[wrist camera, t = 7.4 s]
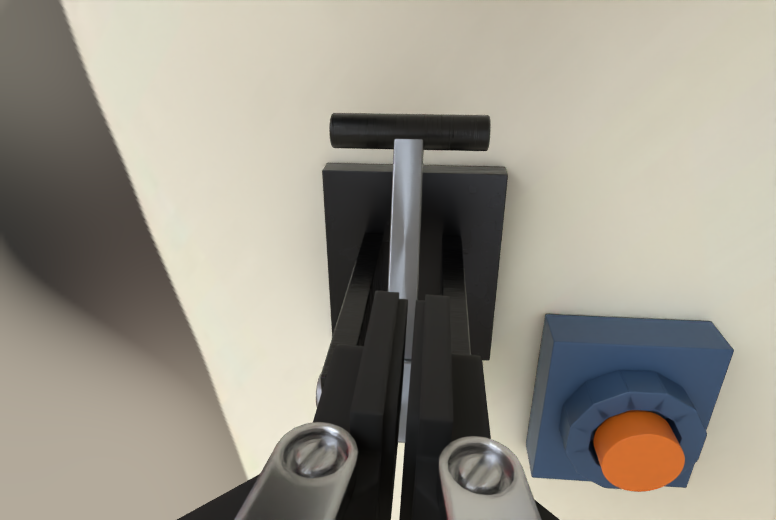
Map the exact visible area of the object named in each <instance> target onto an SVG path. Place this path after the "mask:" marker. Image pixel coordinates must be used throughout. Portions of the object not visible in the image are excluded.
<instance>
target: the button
mask: <svg viewBox="0 0 776 520" xmlns="http://www.w3.org/2000/svg"><path fill="white" fill-rule="evenodd" d="M593 441H594V448H595V451H596V454H597V457H598V460H599V463H600V466H601V469H602V472H603V474H604V476H605V478H606V479H607V480H608V481H609V482H610V483H612V484H613V485H615V486H616V487H618V488H621V489H624V490H628V491H638V492H641V491H650V490H654V489H658V488H661V487H663V486H665V485H667V484H669V483H670V482H672V481H673V480H674V479H676V478H677V477H678V475H679V474H680V473H681V471H682V469H683V467H684V463H685V456H684V452H683V450H682V448H681V446H680V444H679V442H678V440H677V438H676V436H675V434H674V433H673V431H672V429H671V427H670V425H669V423H668V422H667V421H666V420H665V419H664V418H662V417H661V416H659V415H657V414H655V413H653V412H649V411H643V410H630V411H627V412H624V413H621V414H618V415H615V416H612V417H609V418H608V419H606V420H605V421H604V422H603V423H602V424H601V425H600V426H599V427H598V428H597V430H596V432H595V435H594V440H593Z"/></svg>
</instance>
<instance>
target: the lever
mask: <svg viewBox="0 0 776 520" xmlns="http://www.w3.org/2000/svg"><path fill="white" fill-rule="evenodd" d="M330 142H331V145H332V147H333V148H360V149H394V155H393V179H392V203H391V227H390V251H389V275H388V292H399V299H408V312H407V327H406V343H405V358H404V374H403V389H402V403H401V414H400V425H399V436H398V442H399V443H405V435H406V421H407V408H408V395H409V382H410V369H411V356H412V343H413V330H414V318H415V305H416V300H418V284H419V258H420V232H421V205H422V179H423V153H424V150H459V151H487V150H488V148H489V142H490V117H489V116H488V115H434V114H367V113H333V114H332V115H331V119H330Z"/></svg>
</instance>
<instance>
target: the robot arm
mask: <svg viewBox="0 0 776 520" xmlns="http://www.w3.org/2000/svg"><path fill="white" fill-rule="evenodd" d="M407 312H408V299H399V292H388V291H375V296H374V300H373V305H372V310H371V315H370V319H369V324H368V329H367V334H366V338H365V343H364V346H354V345H342V344H337V345H336V346H335V349H334V352H333V355H332V359H331V362H330V366H329V369H328V372H327V376H326V379H325V383H324V386H323V390H322V393H321V396H320V400H319V403H318V407H317V410H316V414H315V417H314V421H313V423H308V424H304V425H301V426H298V427H296V428H293V429H292V430H291V431H289V432H288V433H286V434H285V435H284V436H283V437H282V438H281V440H280V441H279V442H278V443H277V445H276V447H275V449H274V450H273V452H272V454H271V456H270V457H269V459H268V461H267V463H266V465H265V466H264V468H263V470H262V472H261V473H260V474H259V475H257V476H256V477H254V478H252V479H250V480H248V481H247V482H245V483H243V484H241V485H239V486H237V487H236V488H234V489H232V490H230V491H229V492H227V493H225V494H223V495H221V496H219V497H217V498H216V499H214V500H212V501H210V502H208V503H206V504H205V505H203V506H201V507H199V508H197V509H195V510H194V511H192V512H190V513H188V514H186V515H185V516H183V517H181V518H179V519H177V520H391V512H392V501H393V490H394V479H395V468H396V458H397V447H398V436H399V425H400V414H401V403H402V389H403V374H404V358H405V343H406V327H407ZM400 520H559V519H558V518H557V517H555V516H554V515H553V514H552V513H550V512H549V511H548V510H547V509H546V508H544V507H543V506H542V505H541V504H539V503H538V502H537V501H536V500H534V498H533V495H532V492H531V489H530V487H529V484H528V481H527V478H526V475H525V473H524V470H523V467H522V465H521V463H520V461H519V460H518V458H517V456H516V455H515V454H514V453H513V452H512V451H511V450H510V449H509V448H507V447H506V446H504V445H502V444H501V443H499V442H497V441H494V440H491V436H490V427H489V419H488V410H487V401H486V392H485V383H484V374H483V365H482V358H481V356H475V355H463V354H451V327H450V297H449V296H440V295H427V294H426V296H425V301H423V300H416V305H415V318H414V330H413V343H412V356H411V369H410V382H409V395H408V408H407V421H406V435H405V449H404V463H403V477H402V492H401V506H400Z"/></svg>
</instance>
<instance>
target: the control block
mask: <svg viewBox="0 0 776 520" xmlns="http://www.w3.org/2000/svg"><path fill="white" fill-rule="evenodd" d="M733 352H734V350H733V348H732V347H731V346H730V345H729V343H728V342H727V341H726V340H725V338H724V337H723V336H722V334H721V333H720V332H719V331H718V329H717V328H716V327H715V326H714V324H713V323H712V322H710V321H690V320H667V319H644V318H621V317H598V316H575V315H552V314H546V315H545V320H544V327H543V334H542V340H541V347H540V354H539V360H538V367H537V374H536V380H535V387H534V394H533V400H532V407H531V414H530V420H529V427H528V434H527V440H526V448H527V453H528V459H529V464H530V470H531V475H532V477H534V478H549V479H564V480H579V481H592V482H594V483H596V484H598V485H600V486H602V487H604V488H613V489H621V488H618V487H616V486H615V485H613V484H612V483H610V482H609V481H608V480H607V479H606V478H605V476H604V474H603V472H602V469H601V466H600V463H599V460H598V457H597V454H596V451H595V448H594V441H593V440H594V435H595V432H596V430H597V428H598V427H599V426H600V425H601V424H602V423H603V422H604V421H605V420H606V419H608V418H609V417H612V416H615V415H618V414H621V413H624V412H627V411H630V410H643V411H649V412H653V413H655V414H657V415H659V416H661V417H662V418H664V419H665V420H666V421H667V422H668V423H669V425H670V427H671V429H672V431H673V433H674V434H675V436H676V438H677V440H678V442H679V444H680V446H681V448H682V450H683V452H684V456H685V463H684V467H683V469H682V471H681V473H680V474H679V475H678V477H677V478H676V479H674V480H673V481H672V482H670V483H669V484H667V485H665V486H668V487H683V488H686V487H687V484H688V481H689V478H690V475H691V473H692V470H693V467H694V464H695V462H697V460H698V459H699V456H700V453H701V450H702V447H703V445H704V442H705V439H706V436H707V433H706V429H707V426H708V424H709V421H710V418H711V415H712V412H713V409H714V406H715V403H716V401H717V398H718V395H719V392H720V389H721V386H722V383H723V380H724V378H725V375H726V372H727V369H728V366H729V363H730V360H731V357H732V355H733Z"/></svg>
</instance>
